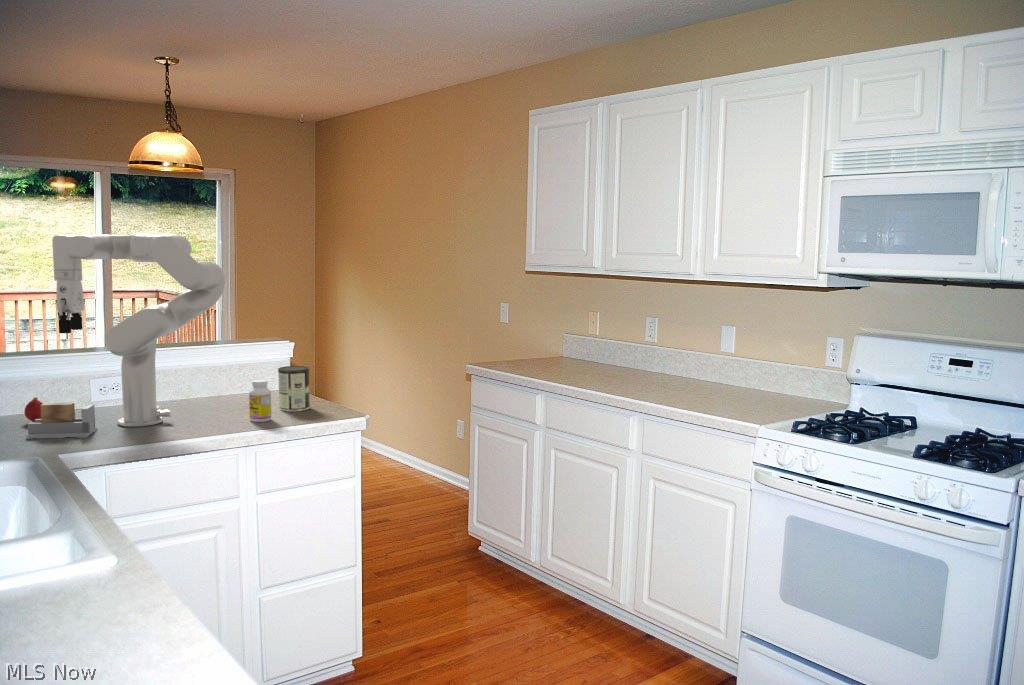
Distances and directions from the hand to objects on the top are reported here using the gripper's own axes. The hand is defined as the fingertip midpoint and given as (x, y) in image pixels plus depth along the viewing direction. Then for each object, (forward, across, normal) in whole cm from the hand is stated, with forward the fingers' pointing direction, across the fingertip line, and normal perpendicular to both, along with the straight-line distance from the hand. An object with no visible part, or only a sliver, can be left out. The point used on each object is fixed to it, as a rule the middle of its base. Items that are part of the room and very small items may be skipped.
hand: (71, 331), depth 246 cm
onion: (+28, -1, +11) cm, 31 cm away
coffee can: (+28, +13, -65) cm, 72 cm away
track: (+28, -17, -2) cm, 33 cm away
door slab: (+27, -17, -1) cm, 32 cm away
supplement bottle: (+28, -4, -56) cm, 63 cm away
